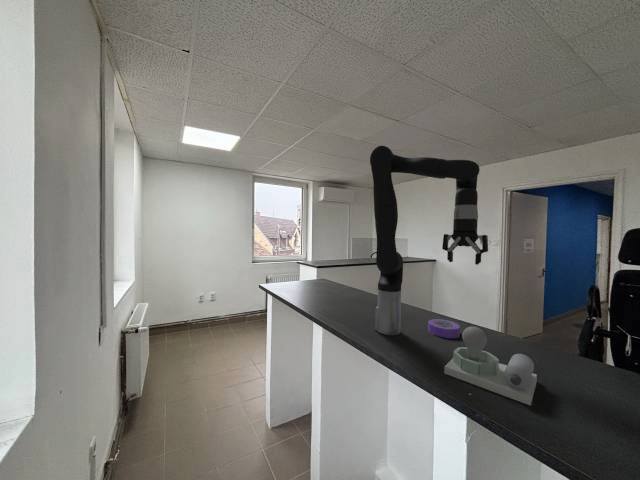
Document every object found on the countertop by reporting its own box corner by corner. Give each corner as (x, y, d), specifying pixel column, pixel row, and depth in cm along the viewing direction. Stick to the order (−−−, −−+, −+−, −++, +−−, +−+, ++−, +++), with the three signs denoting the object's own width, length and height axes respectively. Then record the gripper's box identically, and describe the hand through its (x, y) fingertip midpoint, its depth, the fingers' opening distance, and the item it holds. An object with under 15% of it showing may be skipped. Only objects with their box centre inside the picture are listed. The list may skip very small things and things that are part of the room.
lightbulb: (482, 361, 75) (483, 325, 75) (489, 372, 69) (490, 332, 69) (459, 358, 77) (460, 322, 77) (464, 368, 71) (464, 329, 71)
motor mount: (444, 373, 72) (444, 349, 72) (459, 357, 82) (460, 335, 82) (530, 405, 58) (531, 375, 58) (536, 381, 68) (537, 356, 68)
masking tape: (464, 339, 97) (464, 329, 97) (432, 337, 98) (432, 327, 98) (453, 328, 108) (453, 320, 108) (424, 326, 110) (425, 318, 110)
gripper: (441, 218, 93) (439, 261, 93) (486, 217, 83) (484, 265, 84) (447, 219, 99) (446, 260, 99) (491, 218, 89) (489, 264, 89)
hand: (463, 263), depth 91 cm, fingers open, 8 cm apart
